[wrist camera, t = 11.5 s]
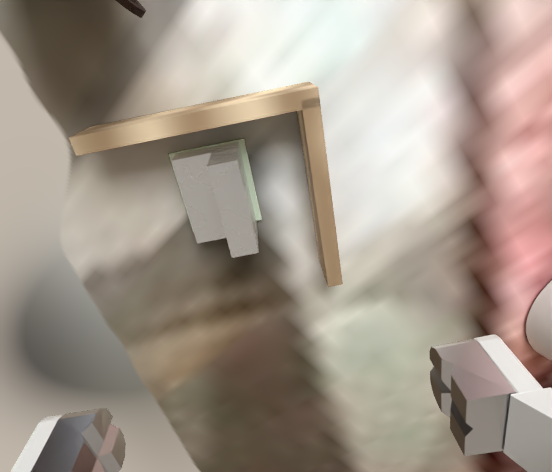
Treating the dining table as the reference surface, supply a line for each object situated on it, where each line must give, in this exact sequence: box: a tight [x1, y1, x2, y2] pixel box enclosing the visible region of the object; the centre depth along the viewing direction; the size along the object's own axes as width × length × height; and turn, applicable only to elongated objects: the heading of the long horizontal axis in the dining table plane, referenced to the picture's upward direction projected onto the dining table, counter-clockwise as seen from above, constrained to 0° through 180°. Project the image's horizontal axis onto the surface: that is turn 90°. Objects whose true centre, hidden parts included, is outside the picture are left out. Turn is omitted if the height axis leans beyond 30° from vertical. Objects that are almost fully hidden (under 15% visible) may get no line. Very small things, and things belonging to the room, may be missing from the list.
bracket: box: [171, 141, 259, 258], centre depth 29 cm, size 7×5×6 cm
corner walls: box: [69, 82, 343, 287], centre depth 30 cm, size 17×16×4 cm
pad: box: [169, 138, 262, 233], centre depth 31 cm, size 6×7×1 cm
